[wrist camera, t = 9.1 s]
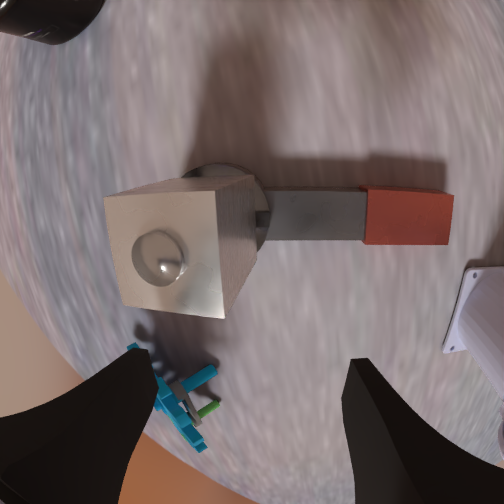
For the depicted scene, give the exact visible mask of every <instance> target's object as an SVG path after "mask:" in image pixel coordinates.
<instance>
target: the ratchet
mask: <svg viewBox="0 0 504 504" xmlns="http://www.w3.org/2000/svg"><path fill="white" fill-rule="evenodd" d="M227 175H254V174H252V173H251V172H250V171H248V170H247V169H245V168H243V167H241V166H238V165H235V164H230V163H215V164H210V165H205V166H201V167H198V168H196V169H193V170H191V171H190V172H188V173H186V174H185V175H184V176H182V177H181V178H186V177H204V176H227ZM254 183H255V213H256V244H257V252H258V251H259V249H260V248H261V246H262V245H263V243H264V241H265V240H361V241H362V242H363V243H364V244H365V245H448V242H449V235H450V228H451V220H452V211H453V201H454V195H451V194H448V193H445V192H442V191H439V190H429V189H417V188H403V187H388V186H369V185H359V188H333V187H264V186H263V184H262V183H261V182H260V180H259V179H258V178H257V177H256V176H255V175H254Z"/></svg>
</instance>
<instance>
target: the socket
mask: <svg viewBox="0 0 504 504" xmlns="http://www.w3.org/2000/svg"><path fill="white" fill-rule="evenodd" d="M103 199H104V207H105V214H106V221H107V227H108V234H109V240H110V245H111V251H112V256H113V261H114V266H115V271H116V276H117V280H118V285H119V289H120V293H121V297H122V302H123V305H127V306H133V307H139V308H145V309H152V310H159V311H166V312H173V313H180V314H188V315H196V316H204V317H213V318H222V319H225V317H226V316H227V314H228V312H229V310H230V308H231V307H232V305H233V303H234V301H235V299H236V297H237V296H238V294H239V292H240V290H241V288H242V286H243V285H244V283H245V281H246V279H247V277H248V275H249V274H250V272H251V270H252V268H253V266H254V264H255V263H256V261H257V244H256V213H255V183H254V175H227V176H204V177H186V178H173V179H168V180H164V181H160V182H156V183H153V184H149V185H145V186H141V187H138V188H134V189H130V190H127V191H123V192H120V193H116V194H113V195H110V196H106V197H103Z"/></svg>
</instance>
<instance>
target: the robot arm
mask: <svg viewBox="0 0 504 504" xmlns="http://www.w3.org/2000/svg"><path fill="white" fill-rule="evenodd" d="M474 273H475V274H474ZM473 274H474V276H473ZM466 349H467V350H468V351H469V352H470V354H471V355H472V356H473V358H474V359H475V361H476V362H477V363H478V365H479V366H480V368H481V369H482V370H483V372H484V373H485V375H486V376H487V378H488V379H489V381H490V382H491V384H492V385H493V387H494V388H495V390H496V391H497V393H498V394H499V396H500V398H501V399H502V401H503V404H502V406H501V407H500V409H499V410H498V412H499V413H500V415H501V417H502V419H503V421H502V422H501V424H500V426H499V430H498V443H499V450H500V453H501V456H502V458H503V460H504V266H499V267H477V268H468V269H467V270H466V271H465V273H464V277H463V281H462V285H461V289H460V293H459V297H458V301H457V304H456V308H455V311H454V314H453V318H452V321H451V324H450V327H449V330H448V333H447V336H446V339H445V342H444V344H443V347H442V351H443V352H444V353H451V352H456V351H461V350H466ZM158 390H159V386H158V383H157V380H156V377H155V373H154V370H153V367H152V363H151V360H150V356H149V353H148V350H147V349H140V348H134V347H133V348H132V349H130V350H129V351H127V352H126V353H124V354H123V355H122V356H120V357H119V358H117V359H116V360H115V361H113V362H112V363H110V364H109V365H108V366H106V367H105V368H103V369H102V370H101V371H99V372H98V373H96V374H95V375H93V376H92V377H91V378H89V379H87V380H86V381H84V382H83V383H81V384H80V385H78V386H76V387H75V388H73V389H72V390H70V391H68V392H67V393H65V394H63V395H61V396H59V397H57V398H55V399H53V400H51V401H49V402H47V403H45V404H42V405H40V406H37V407H34V408H32V409H29V410H27V411H24V412H21V413H17V414H14V415H10V416H5V417H1V418H0V504H118V500H119V496H120V492H121V487H122V483H123V480H124V476H125V473H126V470H127V466H128V463H129V460H130V458H131V455H132V452H133V451H134V449H135V446H136V444H137V442H138V440H139V438H140V436H141V433H142V431H143V429H144V427H145V425H146V423H147V421H148V419H149V416H150V414H151V412H152V410H153V406H154V403H155V400H156V397H157V393H158ZM341 400H342V413H343V423H344V428H345V433H346V438H347V443H348V447H349V452H350V457H351V463H352V468H353V474H354V482H355V504H504V469H503V468H500V467H497V466H495V465H492V464H490V463H487V462H485V461H483V460H481V459H479V458H477V457H475V456H473V455H472V454H470V453H468V452H466V451H465V450H463V449H461V448H460V447H458V446H457V445H455V444H454V443H452V442H451V441H449V440H448V439H446V438H445V437H444V436H442V435H441V434H440V433H439V432H437V431H436V430H435V429H434V428H432V427H431V426H430V425H429V424H428V423H426V422H425V421H424V420H423V419H422V418H421V417H420V416H419V415H418V414H417V413H416V412H415V411H414V410H413V409H412V408H411V407H410V406H409V405H408V404H407V403H406V402H405V401H404V400H403V399H402V398H401V397H400V395H399V394H398V393H397V392H396V391H395V390H394V389H393V388H392V386H391V385H390V384H389V383H388V382H387V380H386V379H385V378H384V377H383V376H382V374H381V373H380V372H379V371H378V370H377V368H376V367H375V366H374V365H373V364H372V362H371V361H370V360H369V359H368V358H359V359H351V361H350V366H349V370H348V374H347V378H346V382H345V386H344V390H343V394H342V397H341Z"/></svg>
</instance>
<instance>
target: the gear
mask: <svg viewBox="0 0 504 504" xmlns="http://www.w3.org/2000/svg"><path fill="white" fill-rule="evenodd" d="M133 347H134V348H139V346H138V345H137V344H136V342H135V343H133V344H131V345H129V346H127V349H128V351H129V350H130V349H132V348H133ZM152 367H153V366H152ZM154 373H155V372H154ZM217 374H218V373H217V371H216V369H215V367H214V366H213V365H211V364H210V365H208V366H207V367H205V368H204V369H202V370H200V371H199V372H197V373H195V374H194V375H192V376H191V377H189V378H187V379H186V380H184V381H182V382H181V383H180V382H179V381H178V380H177V381H175V382H173V383H172V384H170V385H168V386H167V385H166V383H165V382H164V380H163V379H162V377H159V378H158V377H157V375H156V374H155V377H156V380H157V383H158V386H159V390H158V393H157V397H156V400H155V403H154V407H155V409H156V410H157V411H158V410H160V409H162V411H163V412H164V413H165V414H166V415H168V417H169V418H170V420H171V421H172V422H173V424H174V425H175V427H176V428H177V429H178V431H179V432H180V433H181V435H182V436H183V437H184V439H185V440H186V441H187V442H189V444H190V445H191V446H192V447H193V448H195V450H196V451H197V452H198V453H200V452H202V451H203V450H205V449H206V448H208V447H207V446H206V445H205V443H204V442H203V441H204V439H203V437H202V436H201V435H200V433H199V432H198V431H197V430H196V429H195V428H194V427H193V425H194V426H195V427H197V426H199V425H201V424H202V421H201V418H202V417H204V416H206V415H207V414H209V413H210V412H212V411H213V410H215V409H216V408H218V407H219V406H220V404H219V403H218V402H217V401H216V400H214V401H213V402H211V403H210V404H208V405H206V406H205V407H203V408H202V409H200V410H199V411H197V412H196V410H195V408H194V406H193V404H192V402H191V400H190V398H189V396H188V394H187V393H189V392H190V391H192V390H193V389H195V388H197V387H198V386H200V385H201V384H203V383H205V382H206V381H208V380H209V379H211V378H212V377H214V376H215V375H217ZM181 401H182V402H183V404H184V406H185V408H186V410H187V411H188V412H185V411H184V409H183V408H182V407H181V406H179V405H178V403H180V402H181Z"/></svg>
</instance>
